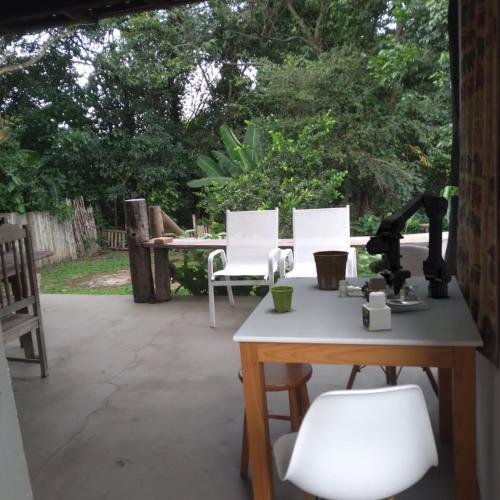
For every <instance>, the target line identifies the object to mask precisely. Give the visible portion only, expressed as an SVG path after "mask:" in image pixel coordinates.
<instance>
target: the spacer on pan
mask: <svg viewBox="0 0 500 500" xmlns="http://www.w3.org/2000/svg"><path fill="white" fill-rule="evenodd" d="M403 296H404V299H405V300H409V301H414V300H418V298H419V285H417V284H406V285H404V292H403Z"/></svg>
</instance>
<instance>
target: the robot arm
mask: <svg viewBox="0 0 500 500" xmlns="http://www.w3.org/2000/svg"><path fill="white" fill-rule="evenodd" d="M448 207H449V200H448V199H447V198H446V197H445V196H436V195H435V196H434V195H431V194H429V193H416V194H415V195H414V196H413V197H412V198H411V199H410V200H409V201H408V202H407V203H406V204H404V206H402V207H401V208H400V209H399V210H397V212H395V213H393V214H390V215H387V216H386V217H384V218H383V219H381V221H380V225H379V227H378V229H377V230H376V232H375V234H374V235H371V236H369V239H368V241H367V242H366V245H365V250H366V252H367V254H368V255H370V256H376V255H377V256H378V255H381V258H380V259H378V260H375V261H373V262H371V263H369V264H368V268H369V269H370V272H371V273H373V274H374V275H377V274H379V275H380V276H381V277H382V278H384V279H385V282H386V285H390V284H393V289H394V294H395V295H398V294H399V291H400V289H401V287H402V285H403V283H404V281H405V280H406V281H407V279H411V278H412V272H411V271H410V270H409V269H407V268H404V267H403V265H401V263H402V262H401V259H402V258H403V254H401V240H405V236H404V235H402V234H401V233H402V232H403V230H404V229H405V228H406V225H407V222H408V221H409V220H410V219H411V218H412V217H413V216H414V215H415V214H417V212H420V210H421V209H422V208H424V213H425V214H426V215H425V216H426V217H427V218H428V253H427V255H428V256H427V257H426V259H423V260H422V269H421V271H422V273H423V276H424V279H425V281H426V282H428V285H427V296H428V297H430V298H433V299H445V298H451V296H450V295H449V290H448V288H449V286H448V285H449V283H452V279H453V276H452V274H451V273H450V272H449V271H448V270H447V263H446V261H445V259H444V257H443V230H444V229H443V225H444V224H443V221H444V218H445V217H446V215H447V214H448V209H449V208H448Z"/></svg>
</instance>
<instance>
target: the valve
mask: <svg viewBox="0 0 500 500" xmlns="http://www.w3.org/2000/svg"><path fill="white" fill-rule="evenodd" d="M364 283H365V284H363V286H361V287H360V286H354V285H349V280H346V279H345V280H341V281H339V285H340V286H339V289H338V291H339V297H341V298H347V297H350V293H354V292H360V291H361V292H362V294H363V295H364V297H366V293H367V292H368V291H369V283H370V281H365V282H364Z"/></svg>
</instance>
